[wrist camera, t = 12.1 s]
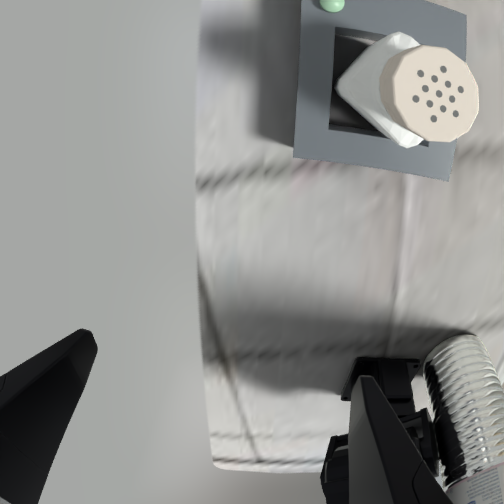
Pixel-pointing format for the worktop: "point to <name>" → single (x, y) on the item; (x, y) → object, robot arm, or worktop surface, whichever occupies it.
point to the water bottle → (467, 419)
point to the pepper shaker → (411, 90)
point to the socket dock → (321, 71)
